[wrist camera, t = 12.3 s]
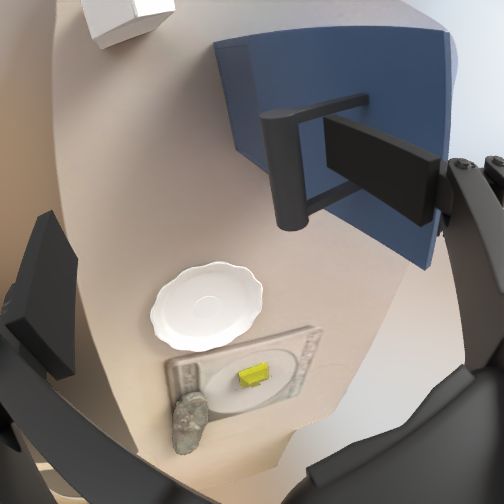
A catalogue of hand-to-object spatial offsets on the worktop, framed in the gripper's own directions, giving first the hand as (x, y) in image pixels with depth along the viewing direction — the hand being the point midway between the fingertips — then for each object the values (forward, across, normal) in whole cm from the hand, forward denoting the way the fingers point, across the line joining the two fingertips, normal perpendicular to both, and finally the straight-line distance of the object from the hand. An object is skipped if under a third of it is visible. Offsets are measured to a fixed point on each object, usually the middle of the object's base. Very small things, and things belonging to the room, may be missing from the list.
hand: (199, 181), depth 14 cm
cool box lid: (+7, +12, -2) cm, 15 cm away
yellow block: (+29, +3, -64) cm, 71 cm away
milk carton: (+30, 0, +13) cm, 32 cm away
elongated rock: (+29, -19, -76) cm, 83 cm away
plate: (+29, -1, -36) cm, 47 cm away
